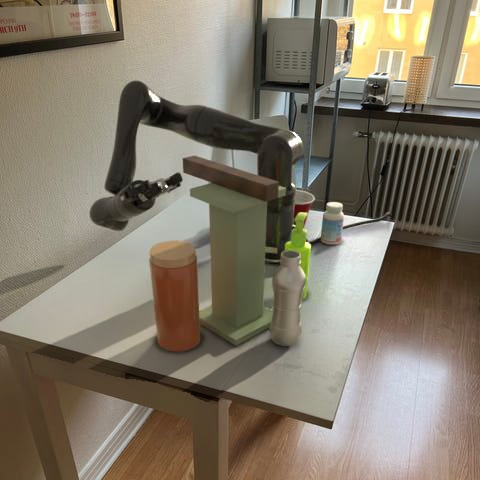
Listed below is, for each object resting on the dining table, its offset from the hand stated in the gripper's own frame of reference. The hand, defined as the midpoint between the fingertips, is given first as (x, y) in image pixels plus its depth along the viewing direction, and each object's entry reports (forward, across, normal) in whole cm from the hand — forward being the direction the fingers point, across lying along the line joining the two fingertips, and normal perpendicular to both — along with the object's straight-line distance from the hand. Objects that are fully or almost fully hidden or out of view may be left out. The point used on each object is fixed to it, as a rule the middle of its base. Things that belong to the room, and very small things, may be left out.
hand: (164, 180), depth 110 cm
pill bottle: (-4, +50, +28) cm, 58 cm away
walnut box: (+20, 0, +7) cm, 22 cm away
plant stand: (+8, 0, +35) cm, 35 cm away
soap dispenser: (+8, +18, +35) cm, 41 cm away
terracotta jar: (+5, -14, +33) cm, 36 cm away
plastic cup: (-14, +47, +22) cm, 54 cm away
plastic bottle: (+19, +2, +41) cm, 45 cm away
